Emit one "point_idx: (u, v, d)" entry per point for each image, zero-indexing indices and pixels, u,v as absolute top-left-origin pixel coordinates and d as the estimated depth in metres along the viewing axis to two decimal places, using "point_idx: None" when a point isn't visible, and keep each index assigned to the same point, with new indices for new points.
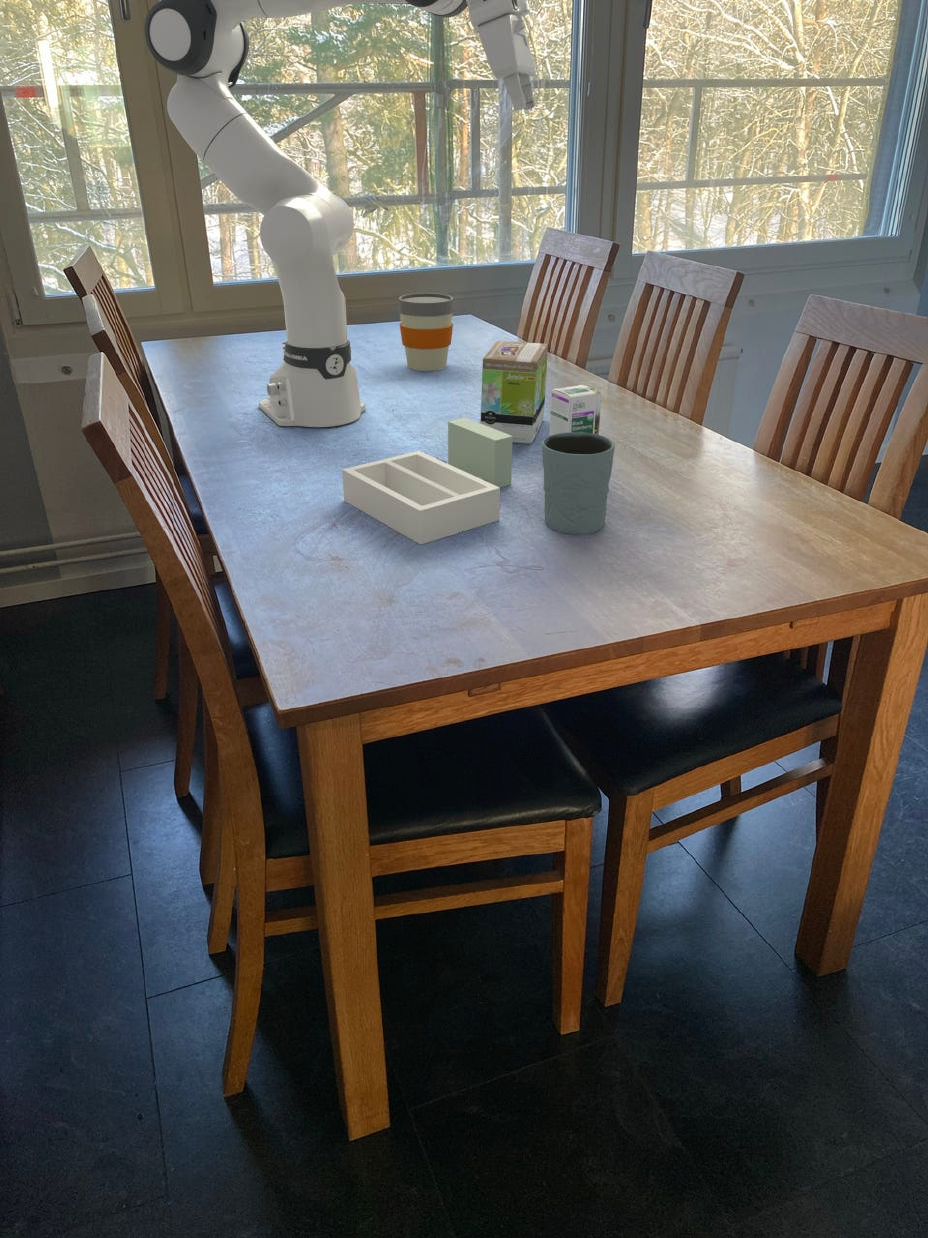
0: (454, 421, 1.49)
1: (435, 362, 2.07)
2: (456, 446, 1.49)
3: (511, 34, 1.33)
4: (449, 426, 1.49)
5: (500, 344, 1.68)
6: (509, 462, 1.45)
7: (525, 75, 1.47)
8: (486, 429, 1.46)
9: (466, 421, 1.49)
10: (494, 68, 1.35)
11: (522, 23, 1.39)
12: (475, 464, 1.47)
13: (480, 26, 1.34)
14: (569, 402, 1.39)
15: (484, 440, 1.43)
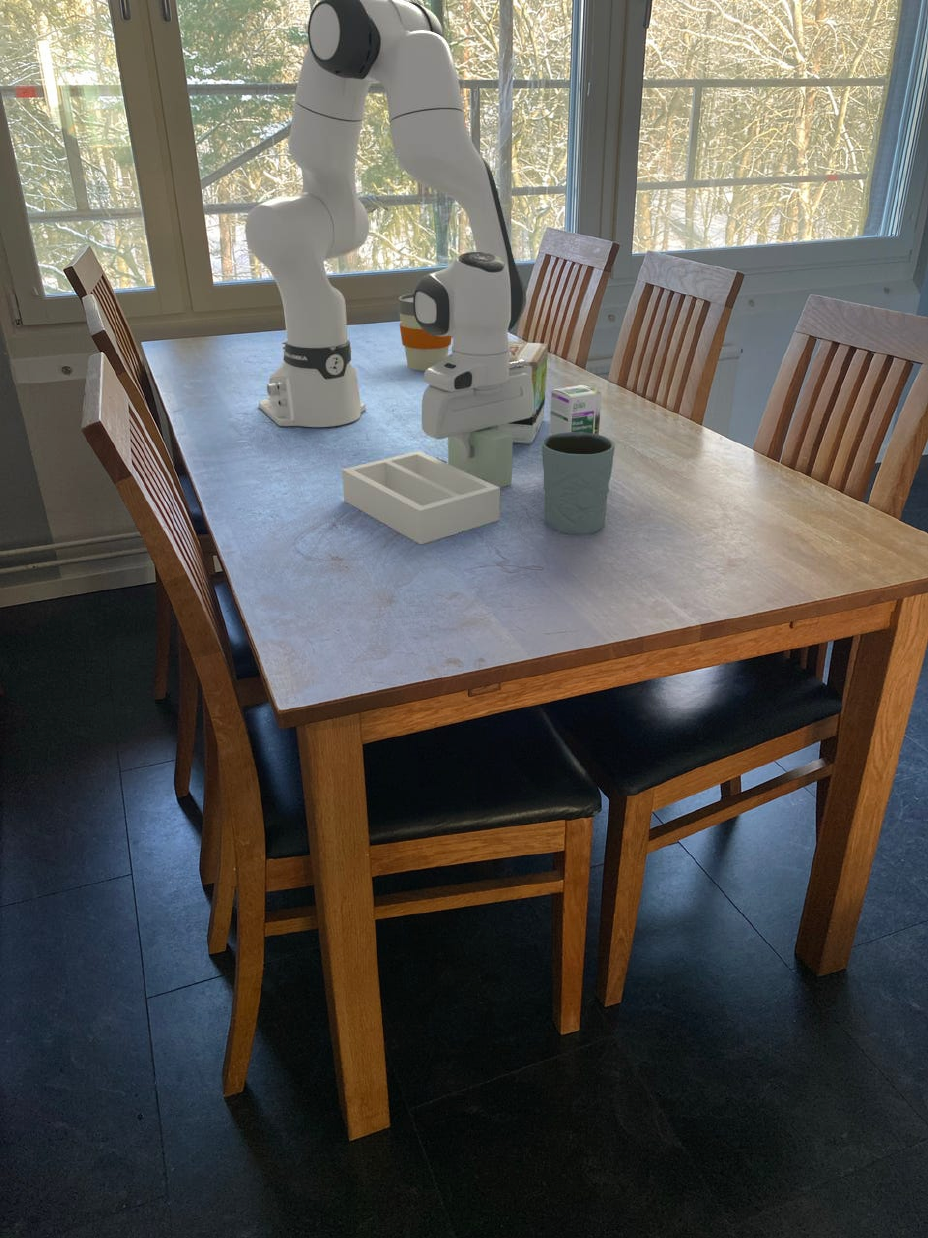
0: None
1: (435, 362, 2.07)
2: (456, 445, 1.49)
3: (439, 411, 1.37)
4: None
5: None
6: (509, 461, 1.45)
7: None
8: (486, 428, 1.46)
9: None
10: (422, 427, 1.41)
11: (487, 392, 1.40)
12: (475, 464, 1.47)
13: (429, 386, 1.39)
14: (569, 402, 1.39)
15: (485, 440, 1.43)
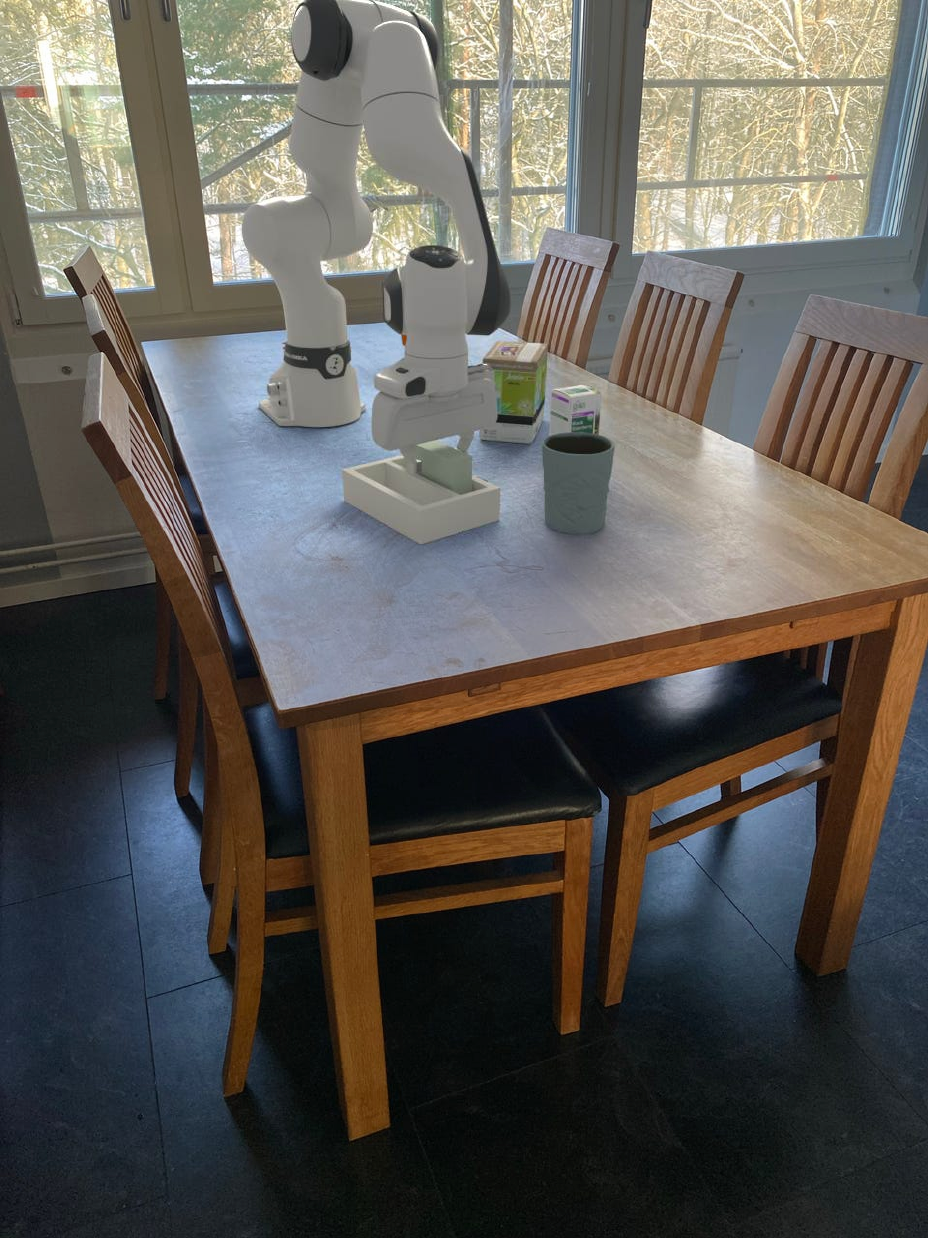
0: None
1: None
2: None
3: (390, 420, 1.25)
4: None
5: (500, 344, 1.68)
6: (469, 484, 1.33)
7: None
8: (444, 448, 1.34)
9: None
10: (373, 437, 1.29)
11: (443, 399, 1.28)
12: None
13: (379, 393, 1.27)
14: (569, 402, 1.39)
15: (442, 460, 1.32)
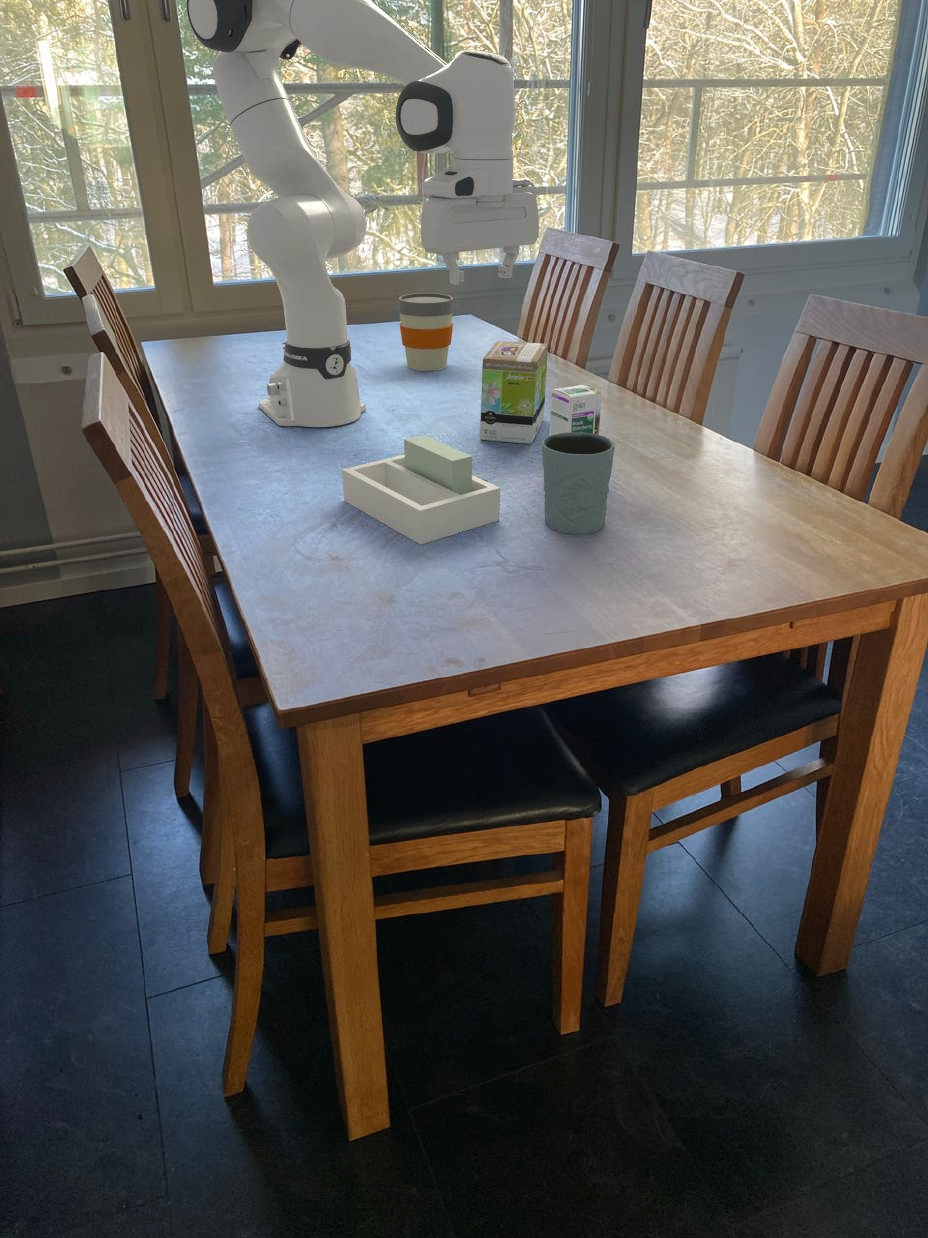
0: (411, 439, 1.38)
1: (435, 362, 2.07)
2: (413, 466, 1.38)
3: (439, 220, 1.30)
4: (405, 444, 1.38)
5: (500, 344, 1.68)
6: (469, 484, 1.33)
7: None
8: (444, 448, 1.34)
9: (423, 439, 1.38)
10: (422, 242, 1.34)
11: (489, 204, 1.33)
12: None
13: (428, 197, 1.32)
14: (569, 402, 1.39)
15: (442, 460, 1.32)
